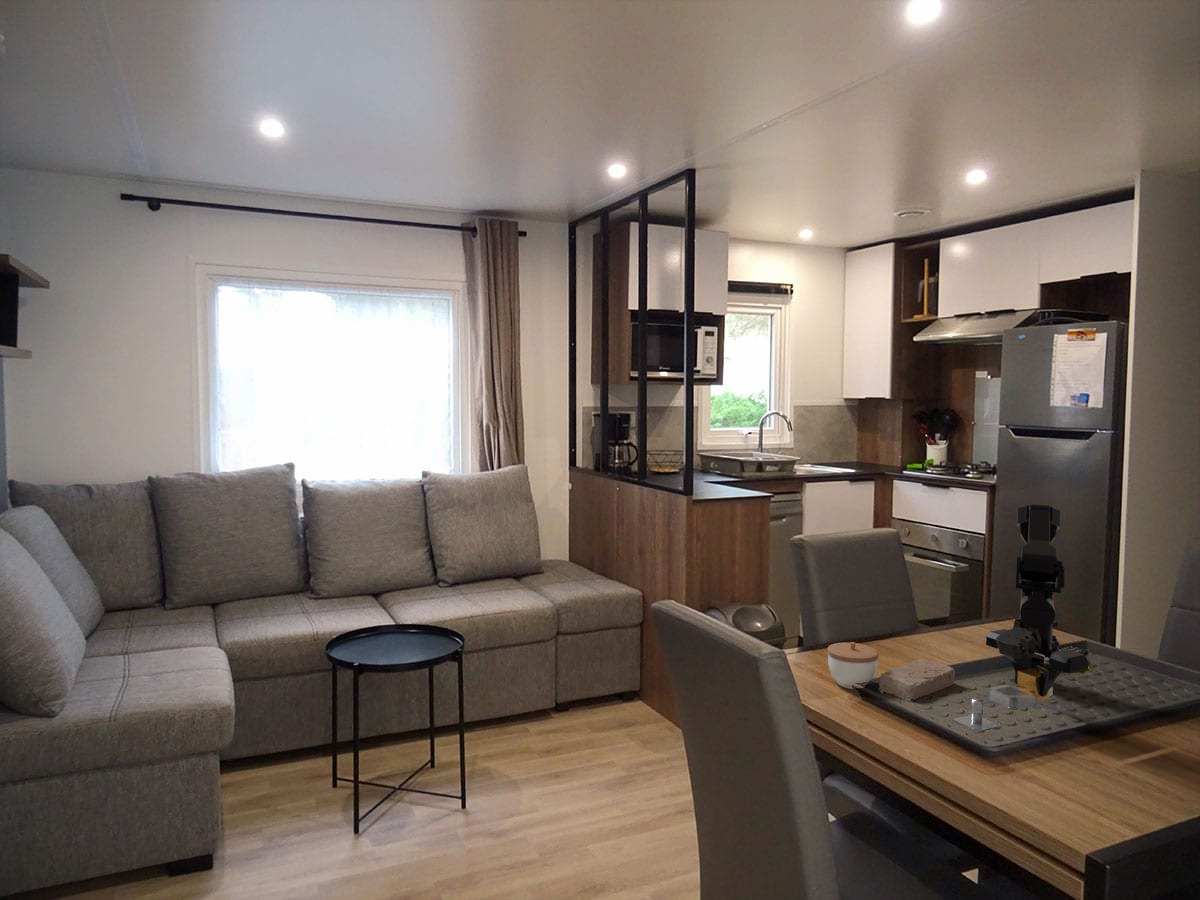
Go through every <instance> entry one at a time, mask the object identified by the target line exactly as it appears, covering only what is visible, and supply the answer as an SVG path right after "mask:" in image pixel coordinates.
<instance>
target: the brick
mask: <svg viewBox="0 0 1200 900" xmlns="http://www.w3.org/2000/svg"><path fill="white" fill-rule="evenodd" d="M955 673H956V671H955V669H954V668H953V667H951V666H948V665H946V664H942V663H938V662H936V661H934V662H932V661H930V660H925V659H923V658H922V659H916V660H914V661H912V662H909V663H908V664H906V665H904V666H900V667H896V668H893V669H890V670H888V671H885V672H883V673H880V677H879V683H878V684H879V685H878V686H880V688H881V690H882V691H883V692H886V693H887V694H890V695H892V694H894V695H893V696H895V695H897V696H896V697H898V696H901V697H903V698H906V699H914V698H917V697H920V698H922V697H921V696H923V697H924V695H925V696H928V695H930V694H932V693H935V692H938V691H940V690H941V691H942V690H943V689H946V688H949V687H951V686H954V683H955V675H956V674H955ZM903 698H902V699H903ZM906 699H905V700H906Z"/></svg>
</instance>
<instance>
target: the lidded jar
mask: <svg viewBox="0 0 1200 900" xmlns="http://www.w3.org/2000/svg"><path fill="white" fill-rule="evenodd" d="M878 659H879V651H878V650H877V649H875V648H874V647H872V646H869V645H867V644H862V643H856V642H854V641H851V642H837V643H831V644H830V645H828V647H827V663H828V670H829V672H830V674H831V677H832V678H833V679H834V680H835V681H836V682H837V684H838V685H839V686H840V687H841V688H845V689H849V690H854V689H853V688H852V685H853V684H854V683H863V682H868V681H870V680H872V679H873V680H874V678H875V676H876V674H877V669H878ZM873 680H872V681H873Z"/></svg>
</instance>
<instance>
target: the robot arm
mask: <svg viewBox="0 0 1200 900" xmlns="http://www.w3.org/2000/svg"><path fill="white" fill-rule="evenodd" d="M1061 512H1062V511H1061V510H1059V509H1056V508H1054V506H1053V505H1051V506H1050V504H1044V503H1043V504H1041V503H1039V504H1038V503H1030V504H1026V506H1021V507H1018V508H1017V513H1016V514H1017V518H1016V527H1017V528H1018V527H1019V528H1020V529H1019V530H1020V532H1019V533H1020V537H1021V539H1022V540H1023V542H1024V545H1022V546H1021V548H1020V549H1021V551H1020V552H1021V553H1020V554H1021V555H1020V556H1019V555H1018V556H1016V575H1015V576H1016V577H1015V589H1018V590H1020V606H1019V607H1020V608H1019V617H1018V618H1014V621H1013V626H1012V628H1010V629H1007V628H1004V629H997V630H991V631H989V632H988V633H987V634H986V636H985V645H986V646H988V647H991V648H994V649H998V652H999V654H1000V655H1003V656H1005V657H1006V658H1007V659H1008V660H1009V662H1010V663H1011V664H1012V667H1013V669H1014V678H1010V679H1009V681H1010V682H1012V683H1015V684H1017V680H1018V671H1019V670H1025V669H1030V668H1033V669H1036V670H1039V671H1040V696H1042V697H1043V696H1046V694H1047V693H1048V691H1049V689H1050V688H1051V687H1055V684H1054V683H1055V681H1056V680H1057V678H1058V677H1059V675H1060V674H1061V673H1065V674H1073V673H1074V674H1075V673H1079V672H1082V671H1083V672H1085V671H1087V670H1089V659H1088V657H1087V655H1086V654H1083V653H1081V652H1078V651H1075V650H1071V649H1063V650H1060V642H1059V641H1058V638H1057V635H1055V634H1054V633H1053V631H1054V629H1053V628H1057V627H1058V621H1055V619H1056V610H1055V603H1054V601H1055V593H1056V594H1061V593H1062V589H1065V565H1064V564H1063V561H1062V560H1061V559H1058V550H1057V548H1055V547H1054V546H1053V545H1051V544H1052V543H1053V541H1054V540H1055V539H1056V536H1057V531H1059V530H1061V517H1062V516H1061V515H1062V514H1061ZM1020 580H1021V582H1020ZM1056 583H1057V584H1056ZM1053 634H1054V635H1053Z"/></svg>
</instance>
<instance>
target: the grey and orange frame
mask: <svg viewBox="0 0 1200 900" xmlns="http://www.w3.org/2000/svg"><path fill="white" fill-rule="evenodd" d="M1016 684H1017V685H1016V686H1015V685H1013V684H1010V683H1007V684H1002V685H998V686H997V685H996V686H992V687H987V688H985V699H986V700H988V701H993V702H995V703H997V704H1000V705H1002V706H1004V707H1007V708H1009V709H1011V710H1018V709H1023V708H1027V707H1032V706H1036V705H1037V703H1038V702H1039V703H1040V702H1043V701H1047V700H1050V697H1051V696H1053V691H1054V686H1052V687H1051V688H1050V689H1049V691H1048V693H1047V694H1046V696H1043V697H1042V696H1040V671H1039V670H1036V669H1033V668H1030V669H1025V670H1019V671H1018V680H1017V683H1016Z"/></svg>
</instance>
